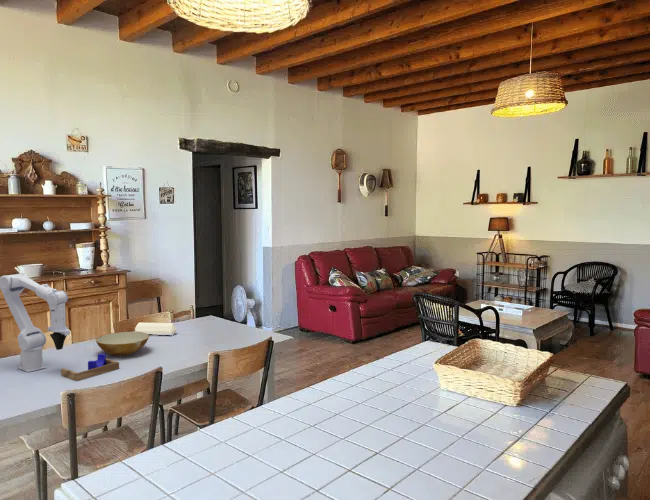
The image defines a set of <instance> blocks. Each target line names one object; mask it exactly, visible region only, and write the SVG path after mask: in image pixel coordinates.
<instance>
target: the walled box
mask: <svg viewBox="0 0 650 500" xmlns="http://www.w3.org/2000/svg"><path fill="white" fill-rule="evenodd" d="M116 370H120V361H116V360H112V359H109V358H106V365H104V366H101V367H97V368H94V369H90V370H88V369H86V370H84V371H80V372H77V371H74V370H71V369H68V368H64V367H63V368H60V376H61V377H64V378H67V379H69V380H73V381H75V382H78V381H82V380H85V379H89V378H92V377H96V376H99V375H102V374H105V373H106V374H107V373H110V372H112V371H116Z"/></svg>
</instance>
